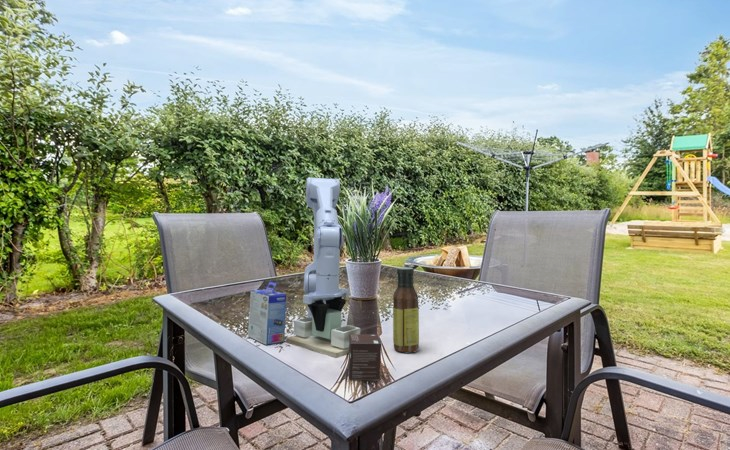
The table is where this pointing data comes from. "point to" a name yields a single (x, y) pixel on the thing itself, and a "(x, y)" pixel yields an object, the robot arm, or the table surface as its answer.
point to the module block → (328, 323)
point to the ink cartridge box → (267, 315)
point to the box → (364, 357)
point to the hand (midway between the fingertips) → (326, 328)
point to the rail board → (319, 344)
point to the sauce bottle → (405, 313)
